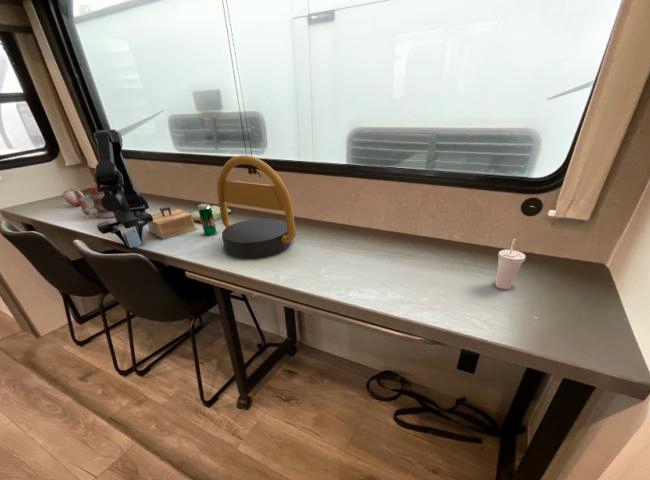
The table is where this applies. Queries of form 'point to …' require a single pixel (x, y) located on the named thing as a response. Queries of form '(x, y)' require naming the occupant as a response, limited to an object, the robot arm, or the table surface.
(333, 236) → the table surface
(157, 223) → the lid
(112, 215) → the mug
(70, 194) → the decorative fruit
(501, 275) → the smoothie
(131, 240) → the block
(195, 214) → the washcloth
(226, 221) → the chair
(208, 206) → the soda can
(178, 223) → the wooden box
